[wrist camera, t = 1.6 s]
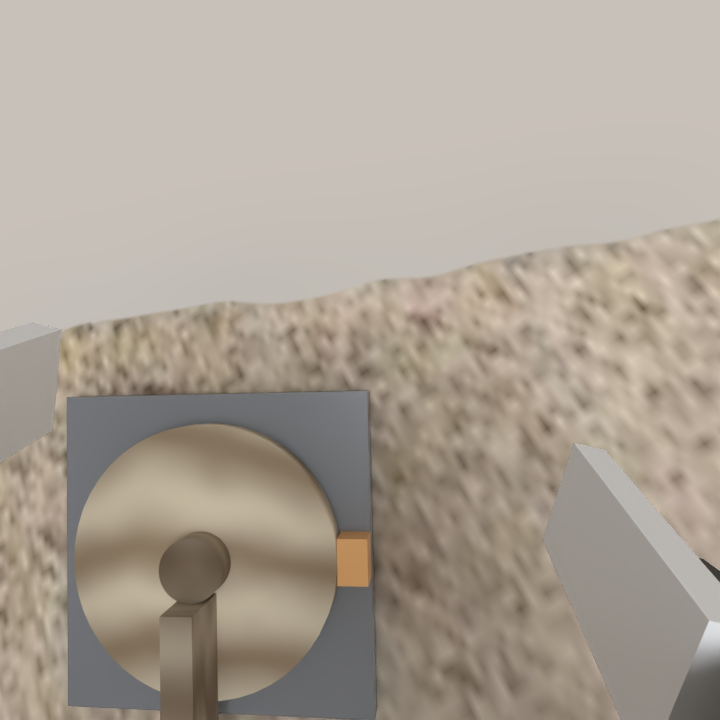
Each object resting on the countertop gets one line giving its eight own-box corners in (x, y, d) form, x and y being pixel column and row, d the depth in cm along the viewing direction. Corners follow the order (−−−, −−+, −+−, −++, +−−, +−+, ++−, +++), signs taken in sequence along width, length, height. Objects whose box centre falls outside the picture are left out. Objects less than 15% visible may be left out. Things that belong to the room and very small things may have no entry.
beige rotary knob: (345, 736, 39) (329, 800, 33) (92, 724, 42) (35, 781, 36) (338, 421, 40) (321, 428, 34) (90, 424, 42) (34, 432, 36)
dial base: (377, 708, 41) (371, 738, 37) (80, 694, 44) (50, 722, 40) (369, 390, 42) (363, 391, 38) (78, 396, 44) (49, 398, 41)
